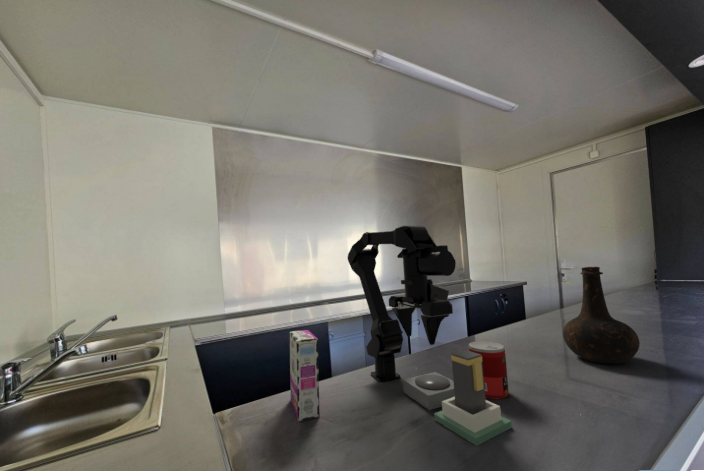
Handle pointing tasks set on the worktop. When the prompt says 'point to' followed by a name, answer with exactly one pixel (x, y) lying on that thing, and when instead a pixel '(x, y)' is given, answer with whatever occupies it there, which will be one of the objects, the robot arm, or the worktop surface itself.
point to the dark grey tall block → (468, 381)
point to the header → (473, 421)
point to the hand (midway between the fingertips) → (420, 340)
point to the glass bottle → (599, 327)
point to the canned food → (492, 368)
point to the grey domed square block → (429, 389)
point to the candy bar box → (304, 374)
